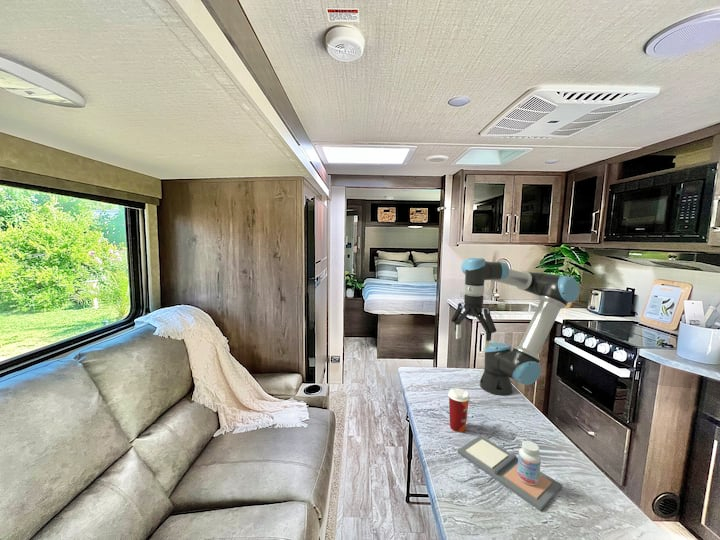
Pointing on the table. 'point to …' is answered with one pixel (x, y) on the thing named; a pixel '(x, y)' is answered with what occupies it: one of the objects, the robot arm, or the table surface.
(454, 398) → the coffee cup
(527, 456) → the pill bottle
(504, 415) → the table surface
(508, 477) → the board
